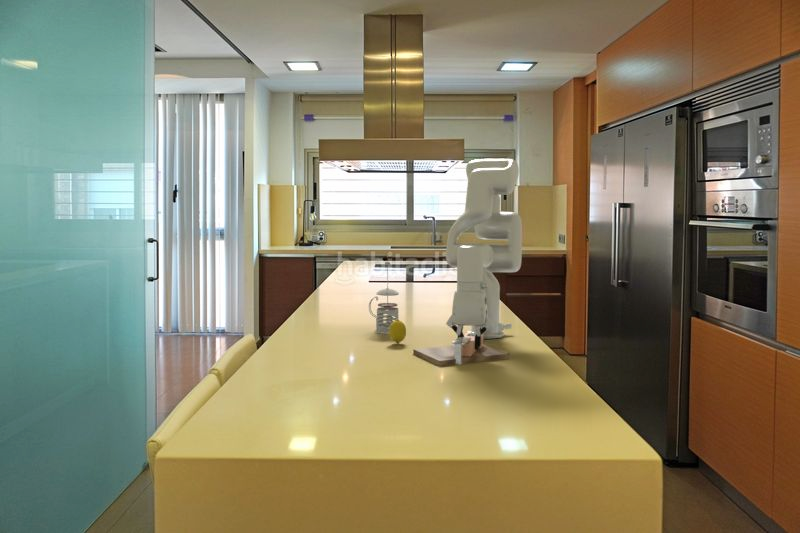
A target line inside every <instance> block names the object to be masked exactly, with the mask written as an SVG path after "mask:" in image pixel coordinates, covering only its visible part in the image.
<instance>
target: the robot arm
mask: <svg viewBox="0 0 800 533" xmlns="http://www.w3.org/2000/svg"><path fill="white" fill-rule="evenodd" d="M465 171H466V172H465V173H466V177H467V186H466V196H465V209H464V213H462V214H461V215H460V216H459V217H458V218H457V219H456V220H455V221H454V223H453V224H452V226H451V227H450V229H449V231H448V234H447V242H446V249H445V251H446V252H445V259H446V260H445V261H446V262H447V264H448V265H449V266H450V267H452V268H456V272H457V273H456V290H454V294H453V300H452V311H451V315H450V317H449V318H448V320H447V321H446V323H445V324H446V325H447V326H448V327H449V328H451V329H452V330H453V332H455V334H456V336H457V338H459V337H464V335H465V333H463V329H464V326H470V330H467V331H466V333H470V332H476V336H475V350H477V349H478V348H479V347H480V346H481V335H482V334H483V340H484V339H485V340H487V339H489V340H490V339H491V340H492V339H499V338H503V337H504V335H505V333H504V332H503V331H505V330H511V329H512V323H511V322H510V323H503V322H500V303H501V302H500V300H501V299H500V295H501V294H500V292H501V286H500V285H501V284H500V283H499V281H498V279H497V278H496V277H495V275H494V274H493V273H516V272H518V271H519V270H520V269H521V266H522V258H523V257H522V255H523V254H522V252H523V250H522V249H523V247H522V246H523V222H522V218H521V216H520V215H519V214H518V213H517V212H513V211H501V197H500V196H503V195H504V196H505V195H506V196H508V195H511V194H512V193H513V192H514V190H515V187H516V184H517V181H518V178H519V174H520V169H519V164H518V163H517V161H516V160H515V159H513V158H484V159H483V158H481V159H479V158H478V159H474V160H471V161H469V162H467V164H466V167H465ZM473 227H474V233H475V236H476V238H478V239H480V240H484V241H485V240H486V241H506V242H507V243H508V244H507V243H506V244H505V243H501V244H500V243H481V242H480V243H478V242H458V241H459V238H460V236H461V235H462V234H463V233H464V232H466V231H467V230H469V229H470V228H471V229H472V228H473Z"/></svg>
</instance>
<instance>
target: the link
mask: <svg viewBox="0 0 800 533" xmlns="http://www.w3.org/2000/svg"><path fill="white" fill-rule="evenodd" d="M464 337H467V338H471V340H470V341H468V342H467V343H466V344H464V345H463V356H471V355H472V354H473V353H474V352H475V351H476V350H475V336H470V333H467V332H466V333H464ZM483 344H484V339H483V334H482V335H481V346H480V347H479V348H478V349H480V348H481V347H482V346H483Z"/></svg>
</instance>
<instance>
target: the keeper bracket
mask: <svg viewBox="0 0 800 533" xmlns="http://www.w3.org/2000/svg"><path fill="white" fill-rule="evenodd" d="M470 340H471V338H467V337H459V338H458V337H457V338H456V339H455V340H453V341H452V342H451V344H452V345H454V359H456V364H455V365H459V366H461V365H464V364H463V345H464V344H466V343H467V342H468V341H470Z"/></svg>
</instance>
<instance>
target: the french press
mask: <svg viewBox="0 0 800 533" xmlns="http://www.w3.org/2000/svg"><path fill="white" fill-rule="evenodd" d="M384 265H385V266H386V267H387V269H386V270H387V275H386V277H387V278H386V280H387V281H386V283H387V285H386V286H387V287H386V288H383V289H382V288H381V289H380V290H378V291H377V292H375V293H376V295H378V296H382V297H383V296H385V297H387V300H386V301H387V302H380V303H378V304H377V306H378V308H377V309H376V315H375V314H374V313H373V311H372V308H371V307H372V306H371V305H372V302H373V300H374V299H375V300H376V302H378V300H379V297H378V296H374V297H372V299H370V300H369V303H368V311H369V313H370V315H371V316H372V317H374V318H375V319H376V322H375V323H376V325H375V327H376V328H375V329H374V331H373V333H375V334H379V333H380V335H381V334H382V335H389V328H390V325H391V324H392V322H394V321H396V320H397V319H398V320H399V308H398V303H395V302H389V296H391V297H393V296H394V297H395V296H398V295H400V293H399V291H397V290H395V289H393V288H389V266H390V265H391V262H390V261H385V262H384Z"/></svg>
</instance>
